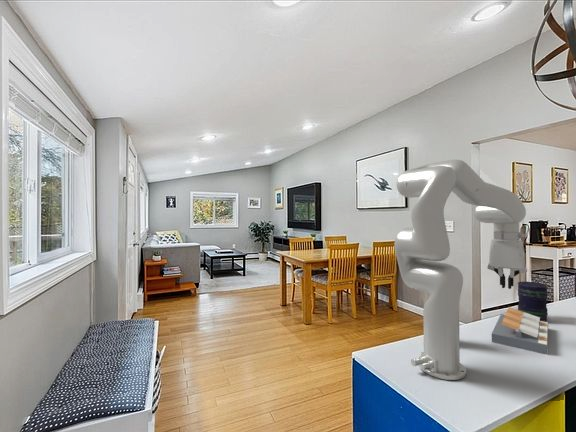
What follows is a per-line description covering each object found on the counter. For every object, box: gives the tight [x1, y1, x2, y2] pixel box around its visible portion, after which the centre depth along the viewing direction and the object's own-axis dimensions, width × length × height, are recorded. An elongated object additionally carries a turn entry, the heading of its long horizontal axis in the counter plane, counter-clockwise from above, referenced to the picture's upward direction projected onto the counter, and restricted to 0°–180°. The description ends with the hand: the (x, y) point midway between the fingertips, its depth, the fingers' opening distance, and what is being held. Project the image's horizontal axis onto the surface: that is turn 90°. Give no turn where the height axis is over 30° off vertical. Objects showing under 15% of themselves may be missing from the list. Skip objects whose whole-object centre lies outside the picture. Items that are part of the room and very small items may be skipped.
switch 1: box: [506, 306, 540, 323], centre depth 117 cm, size 4×10×2 cm, turn 49°
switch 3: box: [502, 318, 539, 338], centre depth 105 cm, size 4×10×2 cm, turn 49°
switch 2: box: [504, 311, 539, 330], centre depth 111 cm, size 4×10×2 cm, turn 49°
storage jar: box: [517, 281, 549, 322], centre depth 128 cm, size 10×10×15 cm
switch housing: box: [491, 313, 549, 355], centre depth 111 cm, size 26×15×5 cm, turn 139°
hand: (506, 287), depth 107 cm, fingers closed
